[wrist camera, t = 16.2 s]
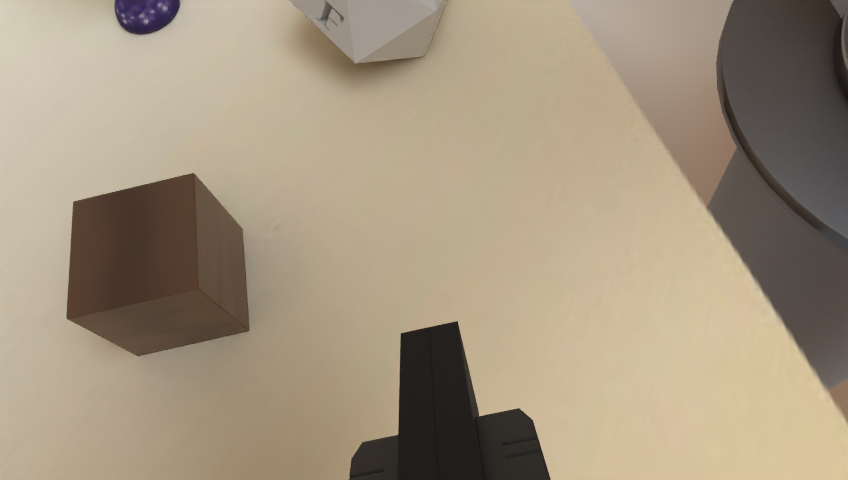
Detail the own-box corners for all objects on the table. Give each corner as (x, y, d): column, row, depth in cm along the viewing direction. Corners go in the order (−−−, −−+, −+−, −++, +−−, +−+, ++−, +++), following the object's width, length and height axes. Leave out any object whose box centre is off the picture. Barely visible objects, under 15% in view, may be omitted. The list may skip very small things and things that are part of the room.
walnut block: (242, 228, 37) (194, 172, 32) (249, 331, 35) (198, 288, 29) (138, 252, 37) (72, 201, 32) (137, 356, 35) (65, 319, 29)
